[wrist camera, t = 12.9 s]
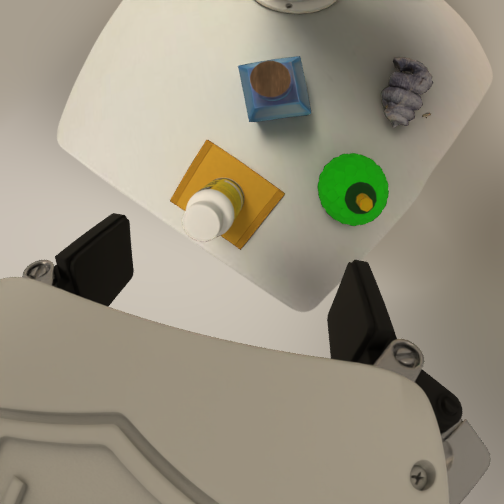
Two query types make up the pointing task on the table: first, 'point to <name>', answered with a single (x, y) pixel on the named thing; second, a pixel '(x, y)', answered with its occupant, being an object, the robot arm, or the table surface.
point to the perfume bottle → (275, 89)
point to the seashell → (405, 91)
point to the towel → (226, 166)
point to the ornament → (353, 189)
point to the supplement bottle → (213, 209)
